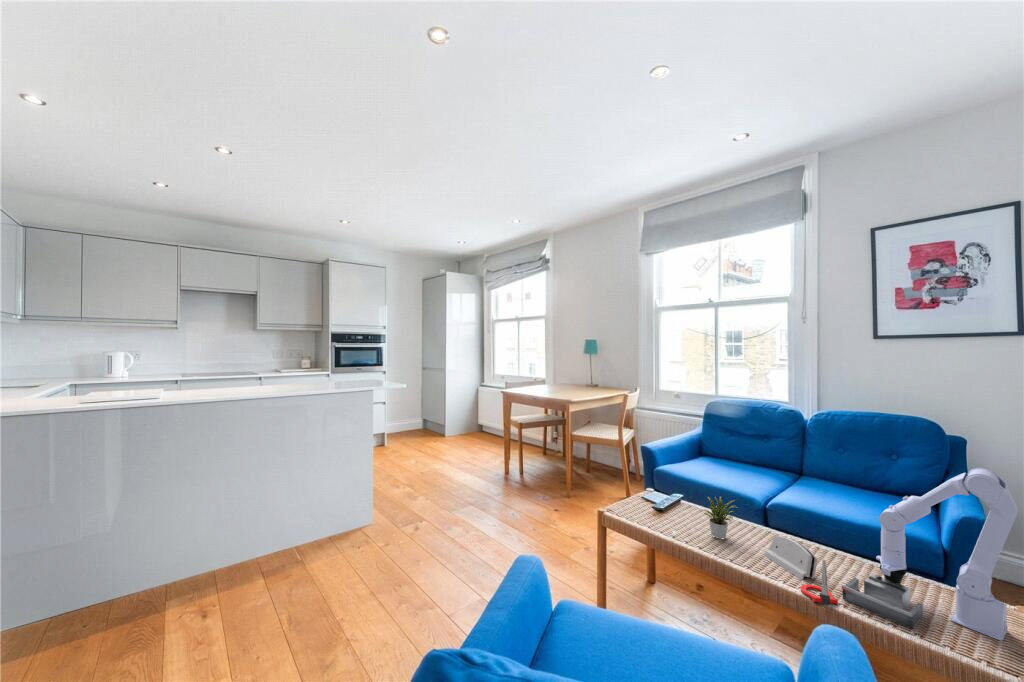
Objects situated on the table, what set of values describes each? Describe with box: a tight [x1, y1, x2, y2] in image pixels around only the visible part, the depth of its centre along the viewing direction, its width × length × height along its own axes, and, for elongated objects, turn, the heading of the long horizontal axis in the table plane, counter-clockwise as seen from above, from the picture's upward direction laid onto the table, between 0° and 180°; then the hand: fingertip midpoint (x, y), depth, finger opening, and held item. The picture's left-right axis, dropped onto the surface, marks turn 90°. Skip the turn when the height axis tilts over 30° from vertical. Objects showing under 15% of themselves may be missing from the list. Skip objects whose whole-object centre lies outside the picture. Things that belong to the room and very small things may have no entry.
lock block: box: [863, 573, 911, 611], centre depth 126 cm, size 9×7×6 cm
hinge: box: [764, 535, 818, 581], centre depth 146 cm, size 17×5×10 cm, turn 10°
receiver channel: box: [841, 577, 924, 630], centre depth 123 cm, size 16×11×4 cm, turn 33°
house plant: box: [703, 496, 739, 539], centre depth 167 cm, size 14×14×16 cm
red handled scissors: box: [800, 559, 839, 605], centre depth 129 cm, size 8×13×9 cm
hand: (893, 590), depth 129 cm, fingers closed
